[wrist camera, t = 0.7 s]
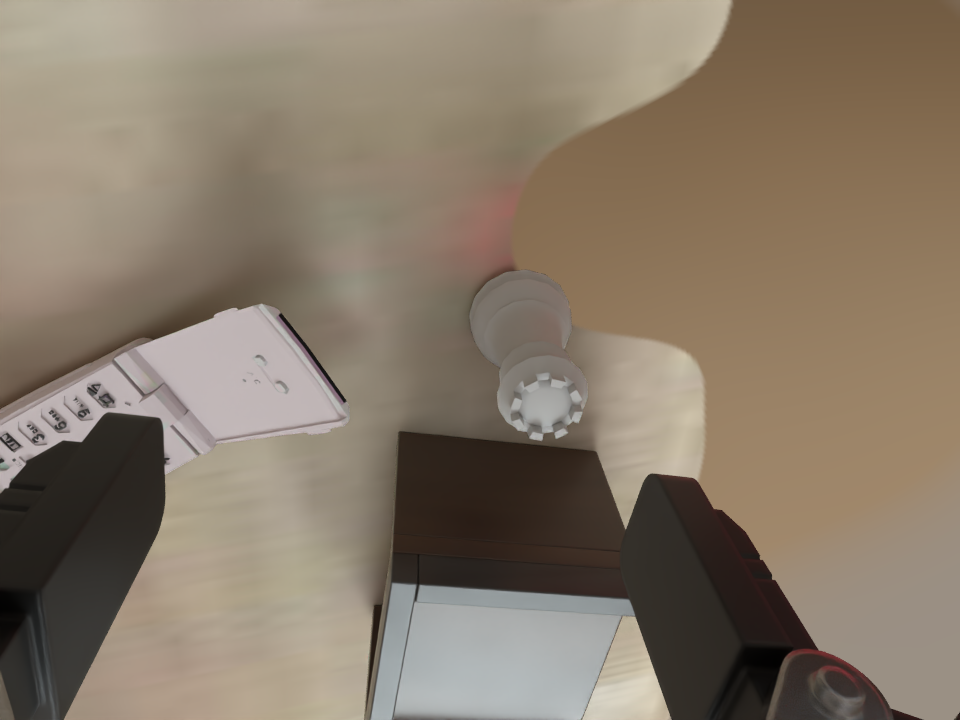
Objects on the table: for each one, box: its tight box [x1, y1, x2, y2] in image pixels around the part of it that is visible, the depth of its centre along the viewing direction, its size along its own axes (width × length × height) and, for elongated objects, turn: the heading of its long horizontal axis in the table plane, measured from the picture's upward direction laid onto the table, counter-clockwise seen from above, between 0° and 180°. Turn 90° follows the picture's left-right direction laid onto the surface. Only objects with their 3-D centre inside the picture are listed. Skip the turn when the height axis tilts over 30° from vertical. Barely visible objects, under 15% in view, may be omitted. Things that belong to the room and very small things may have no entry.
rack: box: [364, 432, 636, 720], centre depth 32 cm, size 13×10×10 cm
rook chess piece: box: [469, 270, 588, 441], centre depth 27 cm, size 4×4×8 cm
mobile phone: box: [0, 304, 350, 493], centre depth 29 cm, size 6×6×25 cm
